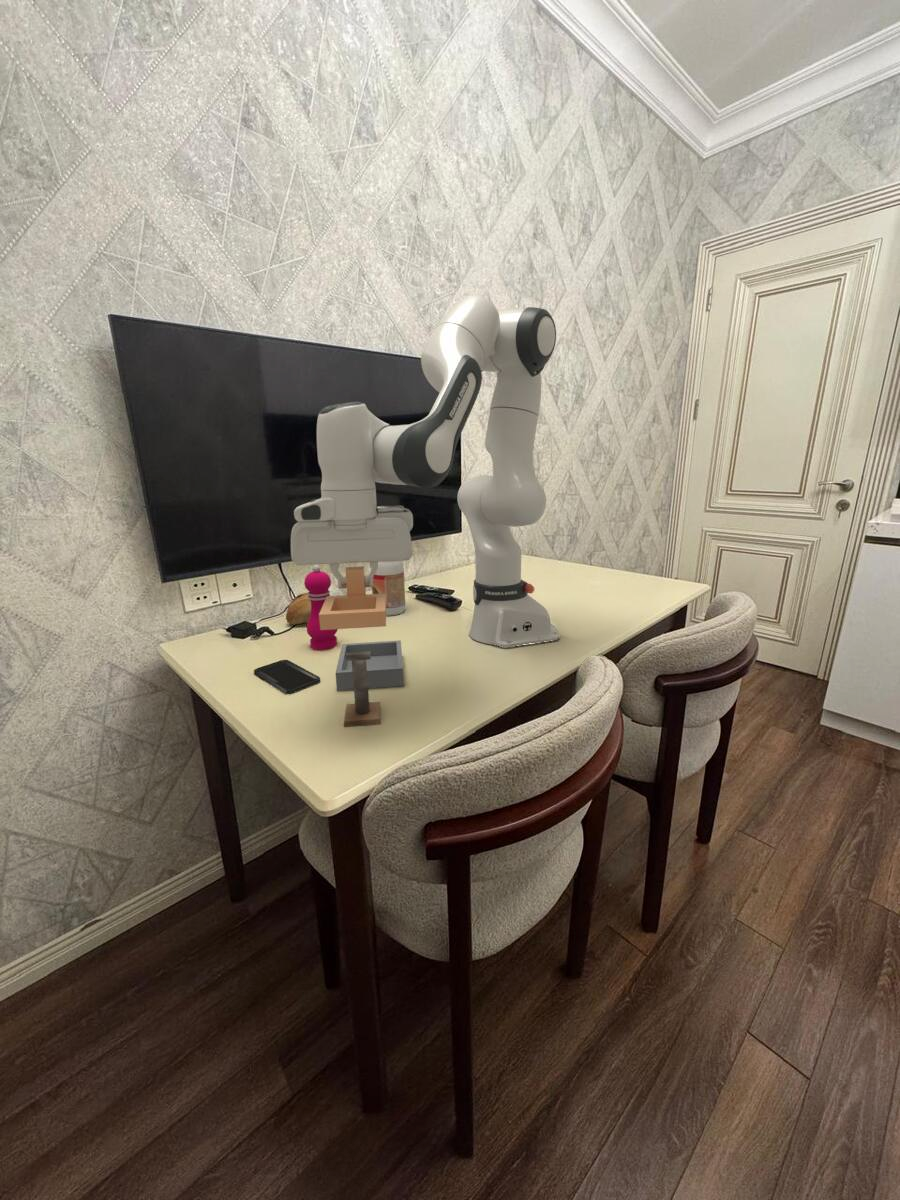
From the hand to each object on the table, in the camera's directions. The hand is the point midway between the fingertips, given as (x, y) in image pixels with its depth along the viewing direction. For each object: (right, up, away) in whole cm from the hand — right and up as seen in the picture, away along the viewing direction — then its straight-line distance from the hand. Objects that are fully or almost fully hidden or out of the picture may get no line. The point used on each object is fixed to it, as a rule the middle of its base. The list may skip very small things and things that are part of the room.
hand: (356, 587), depth 83 cm
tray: (0, -18, +18) cm, 25 cm away
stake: (+1, -23, +1) cm, 23 cm away
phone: (-18, -19, +16) cm, 31 cm away
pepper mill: (-14, -13, +33) cm, 38 cm away
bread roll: (-22, -8, +51) cm, 56 cm away
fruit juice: (-1, -6, +57) cm, 58 cm away
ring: (+1, -5, -4) cm, 6 cm away
